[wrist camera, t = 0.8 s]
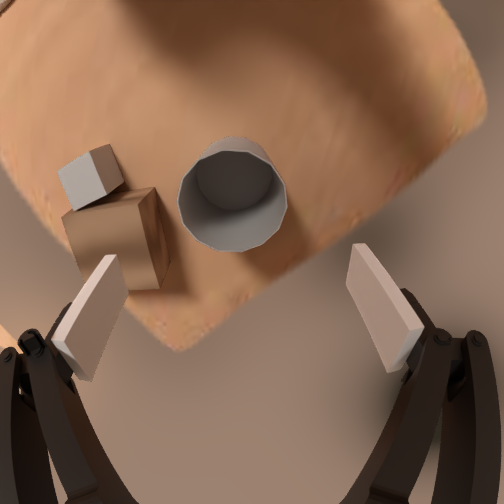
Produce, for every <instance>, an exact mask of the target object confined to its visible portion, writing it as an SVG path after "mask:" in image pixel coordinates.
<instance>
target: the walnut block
mask: <svg viewBox="0 0 504 504" xmlns="http://www.w3.org/2000/svg"><path fill="white" fill-rule="evenodd" d="M61 218H62V221H63V225H64V228H65V231H66V234H67V237H68V240H69V243H70V246H71V248H72V251H73V254H74V256H75V259H76V262H77V264H78V267H79V269H80V272H81V274H82V277H83V279H84V281H85V283H86V282H87V280H88V279H89V277H90V276H91V275H92V273H93V272H94V270H95V269H96V267H97V266H98V265H99V263H100V262H101V260H102V259H103V258H104V256H105V255H116V254H117V258H118V261H119V264H120V267H121V271H122V274H123V277H124V280H125V283H126V286H127V289H128V290H149V289H160V288H161V285H162V282H163V280H164V277H165V274H166V272H167V269H168V267H169V264H170V258H169V254H168V249H167V245H166V241H165V236H164V232H163V227H162V222H161V218H160V213H159V208H158V203H157V197H156V192H155V187H151V188H145V189H138V190H132V191H126V192H120V193H115V194H109V195H105V196H103V197H101V198H99V199H97V200H95V201H93V202H91V203H89V204H87V205H85V206H83V207H81V208H79V209H77V210H75V211H74V210H73V209H71V210H70V211H69V212H67V213H66V214H65V215H63V216H62V217H61Z"/></svg>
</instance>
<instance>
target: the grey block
mask: <svg viewBox="0 0 504 504" xmlns="http://www.w3.org/2000/svg"><path fill="white" fill-rule="evenodd" d="M57 173H58V176H59V178H60V181H61V183H62V186H63V188H64V190H65V193H66V195H67V197H68V199H69V202H70V204H71V206H72V208H73V210H74V211H75V210H77V209H79V208H81V207H83V206H85V205H87V204H89V203H91V202H93V201H95V200H97V199H99V198H101V197H103V196H105V195H107V194H108V193H110V192H111V191H112V190H114V189H115V188H116V187H118V186H119V185H120V184H122V183H123V182H124V179H123V177H122V174H121V172H120V169H119V167H118V164H117V162H116V159H115V157H114V154H113V152H112V149H111V146H110V144H107V145H104V146H102V147H99V148H96V149H93V150H91V151H88V152H87V153H85V154H83V155H82V156H80V157H78V158H77V159H75V160H73V161H72V162H70V163H69V164H67V165H65V166H64V167H62V168H61V169H59V170H58V171H57Z"/></svg>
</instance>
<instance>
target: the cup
mask: <svg viewBox="0 0 504 504" xmlns="http://www.w3.org/2000/svg"><path fill="white" fill-rule="evenodd" d="M176 202H177V206H178V210H179V214H180V218H181V221H182V224H183V225H184V227H185V228H186V229H187V230H188V231H189V233H190V234H191V235H192V236H193V237H194V238H195V240H196V241H197V242H200V243H202V244H204V245H206V246H208V247H210V248H212V249H214V250H216V251H223V252H243V251H246V250H249V249H252V248H255V247H257V246H260V245H263V244H264V243H265V242H266V241H267V240H268V239H269V238H270V237H271V236H272V235H273V234H274V233H276V232H277V231H278V230H279V228H280V226H281V223H282V221H283V218H284V216H285V213H286V210H287V208H288V207H287V197H286V187H285V183H284V181H283V180H282V178H281V176H280V175H279V173H278V171H277V170H276V168H275V166H274V165H273V163H272V161H271V160H270V158H269V157H268V155H267V154H266V152H265V151H264V150H263V148H262V147H261V146H260V145H258V144H257V143H255V142H253V141H251V140H249V139H248V138H245V137H229V136H228V137H226V138H223V139H221V140H218V141H216V142H213V143H211V145H210V146H209V147H208V148H207V149H206V150H205V151H204V152H203V153H202V155H201V156H200V157H199V158H198V159H197V160H196V162H195V163H194V164H193V165H192V166H191V168H190V169H189V170H188V171H187V172H186V174H185V175H184V176H183V177H182V179H181V183H180V188H179V192H178V196H177V201H176Z"/></svg>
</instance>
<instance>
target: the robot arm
mask: <svg viewBox="0 0 504 504" xmlns="http://www.w3.org/2000/svg"><path fill="white" fill-rule="evenodd" d="M346 286H347V288H348V290H349V292H350V294H351V296H352V298H353V300H354V302H355V304H356V306H357V308H358V310H359V312H360V315H361V316H362V319H363V321H364V323H365V325H366V327H367V329H368V331H369V333H370V336H371V338H372V340H373V342H374V344H375V346H376V349H377V351H378V353H379V356H380V358H381V360H382V362H383V365H384V367H385V369H386V372H387V373H389V372H393V371H397V370H401V369H402V367H403V366H404V364H405V362H407V364H408V366H409V369H408V370H407V372H406V373H405V375H404V377H403V378H402V380H401V382H403V384H402V386H401V389H400V391H399V394H398V397H397V399H396V402H395V404H394V406H393V409H392V411H391V414H390V416H389V418H388V421H387V423H386V425H385V427H384V429H383V431H382V433H381V436H380V438H379V440H378V442H377V444H376V446H375V447H374V449H373V451H372V453H371V455H370V457H369V459H368V461H367V462H366V464H365V466H364V468H363V469H362V471H361V473H360V474H359V476H358V478H357V479H356V481H355V483H354V484H353V486H352V487H351V489H350V490H349V492H348V494H347V495H346V496H345V498H344V499H343V500H342V501H341V502H340V503H339V504H409V502H408V498H409V496H410V494H411V491H412V489H413V487H414V485H415V483H416V481H417V478H418V476H419V474H420V471H421V469H422V467H423V464H424V462H425V459H426V456H427V454H428V451H429V448H430V445H431V442H432V439H433V436H434V433H435V430H436V426H437V423H438V420H439V416H440V412H441V409H442V429H441V430H442V431H441V443H440V453H439V462H438V469H437V475H436V481H435V487H434V492H433V497H432V501H431V504H497V498H498V491H499V481H500V469H501V423H500V410H499V401H498V393H497V385H496V379H495V374H494V368H493V363H492V358H491V354H490V349H489V346H488V342H487V339H486V337H485V336H484V335H483V334H482V333H481V332H479V331H476V330H471V331H469V332H468V333H467V335H466V337H465V338H452V336H451V335H450V334H449V333H448V332H447V331H445V330H444V329H440V328H436V327H435V326H434V324H433V323H432V321H431V320H430V318H429V317H428V315H427V314H426V312H425V311H424V309H423V308H422V306H421V305H420V304H419V303H418V301H417V300H416V298H415V297H414V295H413V294H412V293H410V292H409V291H408V290H407V289H405V288H404V289H399V288H398V287H397V285H396V284H395V283H394V281H393V280H392V278H391V277H390V276H389V274H388V273H387V271H386V270H385V269H384V267H383V266H382V265H381V263H380V262H379V261H378V259H377V258H376V257H375V255H374V254H373V253H372V252H371V250H370V249H369V248H368V246H367V245H366V244H365V243H362V244H361V243H360V244H353V246H352V252H351V258H350V263H349V269H348V274H347V279H346ZM128 294H129V292H128V289H127V286H126V283H125V280H124V277H123V274H122V271H121V267H120V264H119V261H118V258H117V254H116V255H105V256H104V258H103V259H102V260H101V262H100V263H99V265H98V266H97V267H96V269H95V270H94V272H93V273H92V275H91V276H90V277H89V279H88V280H87V282H86V283H85V285H84V286H83V288H82V289H81V291H80V292H79V294H78V295H77V297H76V298H75V300H74V301H73V302H70V303H69V304H68V305H67V306H66V307H65V308H64V309H63V310H62V312H61V313H60V315H59V317H58V318H57V320H56V321H55V322H56V323H54V325H53V326H52V328H51V330H50V331H49V333H48V335H47V336H46V338H45V340H44V339H43V338H42V336H41V334H40V333H39V331H38V330H36V329H29V330H27V331H25V332H24V333H23V334H22V335H21V336H20V338H19V339H18V346H19V347H20V349H21V350H22V351H23V354H19V353H18V352H17V351H16V349H15V348H14V347H8V348H6V349H4V350H3V351H2V352H1V354H0V504H58V500H57V496H56V493H55V488H54V484H53V479H52V474H51V469H50V463H49V456H48V451H49V453H50V456H51V459H52V462H53V464H54V467H55V469H56V472H57V474H58V476H59V479H60V481H61V483H62V485H63V487H64V490H65V492H66V494H67V497H68V500H67V501H66V502H65V504H139V503H138V502H136V500H135V499H134V498H133V497H132V495H131V494H130V492H129V491H128V489H127V488H126V486H125V485H124V483H123V482H122V481H121V479H120V477H119V475H118V474H117V472H116V471H115V469H114V467H113V466H112V464H111V462H110V460H109V458H108V457H107V455H106V453H105V451H104V449H103V447H102V445H101V444H100V441H99V439H98V437H97V435H96V434H95V431H94V429H93V427H92V425H91V423H90V420H89V418H88V416H87V414H86V411H85V409H84V407H83V404H82V401H81V399H80V396H79V394H78V391H77V389H76V386H75V383H74V381H73V379H72V378H71V376H72V374H73V372H74V373H75V375H76V376H77V377H78V378H79V379H80V380H85V381H90V382H92V379H93V377H94V374H95V371H96V369H97V366H98V364H99V361H100V358H101V356H102V353H103V351H104V348H105V346H106V344H107V341H108V339H109V336H110V334H111V332H112V329H113V327H114V325H115V323H116V320H117V318H118V316H119V313H120V311H121V309H122V307H123V305H124V303H125V301H126V299H127V296H128ZM19 388H20V389H21V394H19ZM47 448H48V449H47Z"/></svg>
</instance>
